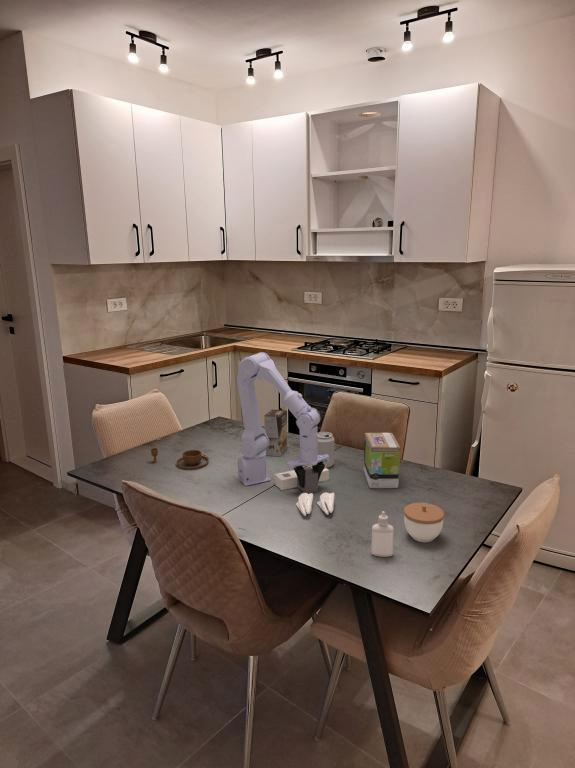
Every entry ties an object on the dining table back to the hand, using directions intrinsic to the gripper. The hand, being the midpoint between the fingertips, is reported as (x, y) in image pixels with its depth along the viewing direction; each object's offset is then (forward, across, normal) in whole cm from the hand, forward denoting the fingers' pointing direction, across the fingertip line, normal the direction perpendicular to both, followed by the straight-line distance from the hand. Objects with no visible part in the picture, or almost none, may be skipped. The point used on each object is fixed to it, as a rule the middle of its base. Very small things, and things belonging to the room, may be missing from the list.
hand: (308, 485), depth 183 cm
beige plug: (-2, +6, +7) cm, 9 cm away
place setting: (+3, -30, +43) cm, 53 cm away
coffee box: (+2, +5, +36) cm, 37 cm away
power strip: (+2, +1, +7) cm, 7 cm away
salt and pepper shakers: (+2, -5, -14) cm, 15 cm away
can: (+2, +15, +16) cm, 22 cm away
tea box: (+2, +26, -4) cm, 26 cm away
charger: (+2, 0, +2) cm, 3 cm away
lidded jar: (+2, +14, -41) cm, 43 cm away
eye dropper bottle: (+2, -1, -43) cm, 43 cm away
